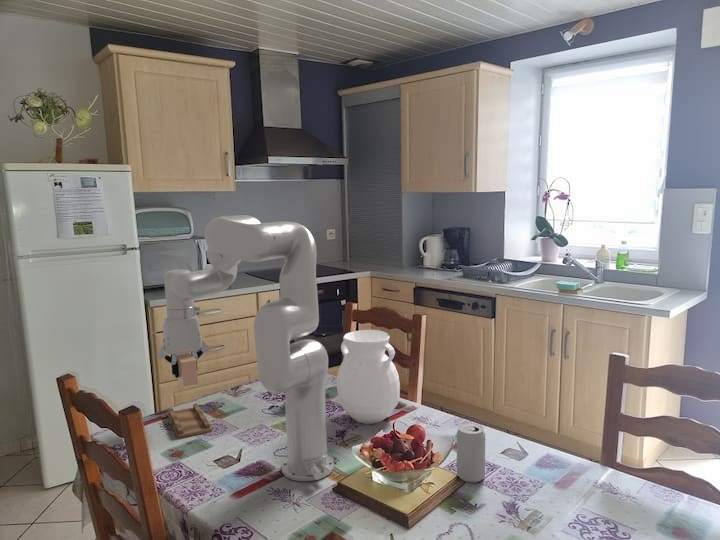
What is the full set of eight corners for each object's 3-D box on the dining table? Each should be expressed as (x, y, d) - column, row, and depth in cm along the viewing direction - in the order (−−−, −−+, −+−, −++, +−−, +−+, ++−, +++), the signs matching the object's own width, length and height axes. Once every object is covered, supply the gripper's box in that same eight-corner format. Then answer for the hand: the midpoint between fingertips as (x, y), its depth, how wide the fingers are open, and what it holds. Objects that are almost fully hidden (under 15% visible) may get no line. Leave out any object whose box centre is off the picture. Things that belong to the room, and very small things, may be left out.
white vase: (324, 422, 155) (321, 338, 152) (359, 401, 170) (358, 324, 167) (379, 437, 145) (377, 347, 141) (411, 413, 160) (411, 331, 156)
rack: (211, 431, 151) (211, 424, 151) (178, 439, 147) (177, 431, 146) (198, 409, 167) (197, 402, 166) (167, 415, 162) (167, 408, 162)
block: (187, 372, 161) (185, 349, 160) (197, 383, 151) (196, 359, 150) (173, 374, 159) (171, 351, 158) (183, 386, 149) (181, 362, 148)
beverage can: (483, 486, 120) (483, 435, 118) (454, 481, 122) (454, 432, 120) (486, 472, 126) (487, 424, 124) (459, 468, 128) (459, 420, 126)
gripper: (207, 307, 159) (211, 366, 162) (147, 314, 151) (152, 376, 154) (213, 312, 153) (217, 373, 155) (151, 319, 145) (156, 384, 147)
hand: (185, 374), depth 155 cm, fingers closed on block, 4 cm apart
